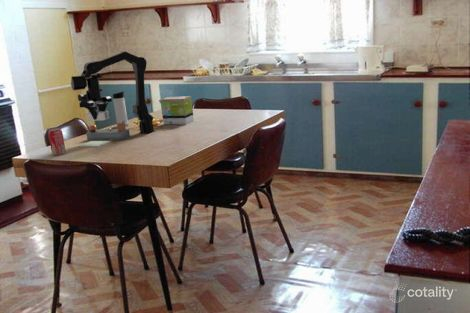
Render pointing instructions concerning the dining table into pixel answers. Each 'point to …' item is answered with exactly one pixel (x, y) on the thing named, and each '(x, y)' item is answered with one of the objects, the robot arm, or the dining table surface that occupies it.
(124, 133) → the hand plane
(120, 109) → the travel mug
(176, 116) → the tea box
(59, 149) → the beverage can
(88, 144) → the rubber mat
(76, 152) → the dining table surface
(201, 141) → the dining table surface
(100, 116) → the lever cap
